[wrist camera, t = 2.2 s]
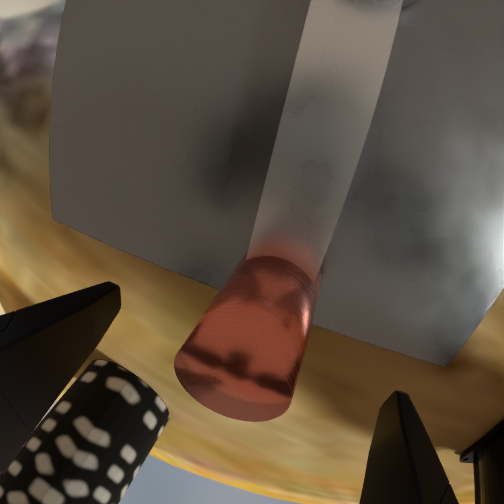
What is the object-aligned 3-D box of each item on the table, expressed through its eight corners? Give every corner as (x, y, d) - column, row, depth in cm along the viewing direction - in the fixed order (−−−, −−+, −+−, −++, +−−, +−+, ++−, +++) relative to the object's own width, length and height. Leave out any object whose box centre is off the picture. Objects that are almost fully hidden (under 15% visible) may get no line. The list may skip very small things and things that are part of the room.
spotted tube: (120, 415, 27) (23, 556, 11) (75, 355, 24) (-51, 507, 8) (185, 430, 24) (82, 608, 7) (137, 363, 21) (-12, 570, 4)
